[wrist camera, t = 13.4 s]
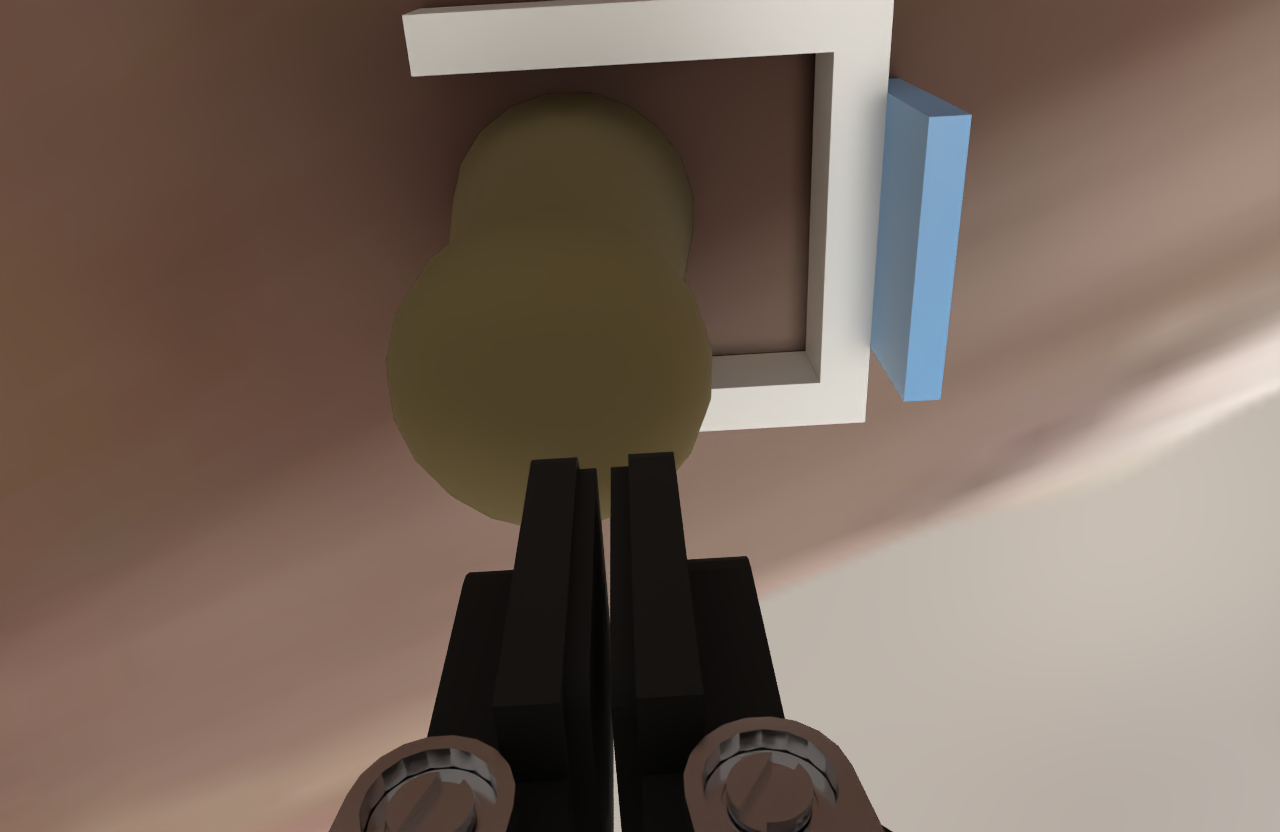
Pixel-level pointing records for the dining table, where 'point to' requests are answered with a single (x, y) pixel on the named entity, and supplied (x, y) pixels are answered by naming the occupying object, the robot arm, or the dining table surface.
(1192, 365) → the dining table surface
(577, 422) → the olive rounded piece
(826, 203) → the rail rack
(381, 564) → the dining table surface
